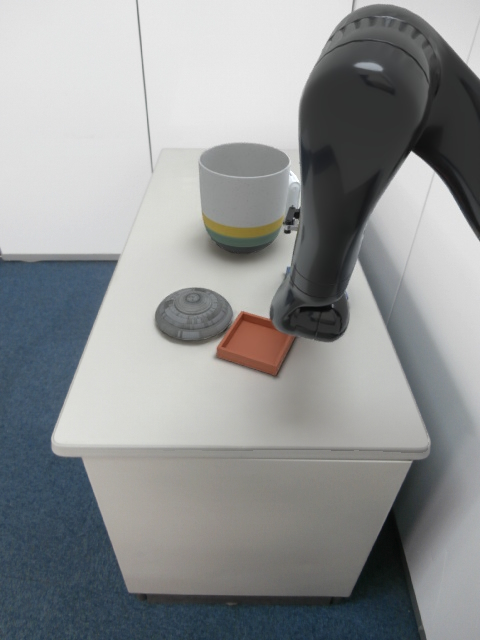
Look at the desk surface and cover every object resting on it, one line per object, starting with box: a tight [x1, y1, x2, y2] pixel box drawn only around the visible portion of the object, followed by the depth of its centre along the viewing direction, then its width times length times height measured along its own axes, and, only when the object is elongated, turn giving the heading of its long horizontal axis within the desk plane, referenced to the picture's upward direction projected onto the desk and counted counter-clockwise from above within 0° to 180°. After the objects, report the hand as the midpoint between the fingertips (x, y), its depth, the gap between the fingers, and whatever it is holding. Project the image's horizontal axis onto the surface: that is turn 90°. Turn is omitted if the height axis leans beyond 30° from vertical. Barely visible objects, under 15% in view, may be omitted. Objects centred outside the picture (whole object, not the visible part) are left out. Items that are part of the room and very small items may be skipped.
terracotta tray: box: [216, 310, 296, 377], centre depth 82 cm, size 11×11×2 cm
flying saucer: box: [154, 286, 234, 341], centre depth 87 cm, size 15×15×6 cm
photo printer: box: [283, 170, 301, 224], centre depth 118 cm, size 10×4×12 cm, turn 21°
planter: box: [197, 141, 292, 255], centre depth 102 cm, size 20×20×21 cm
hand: (327, 206), depth 85 cm, fingers closed on battery charger, 7 cm apart
